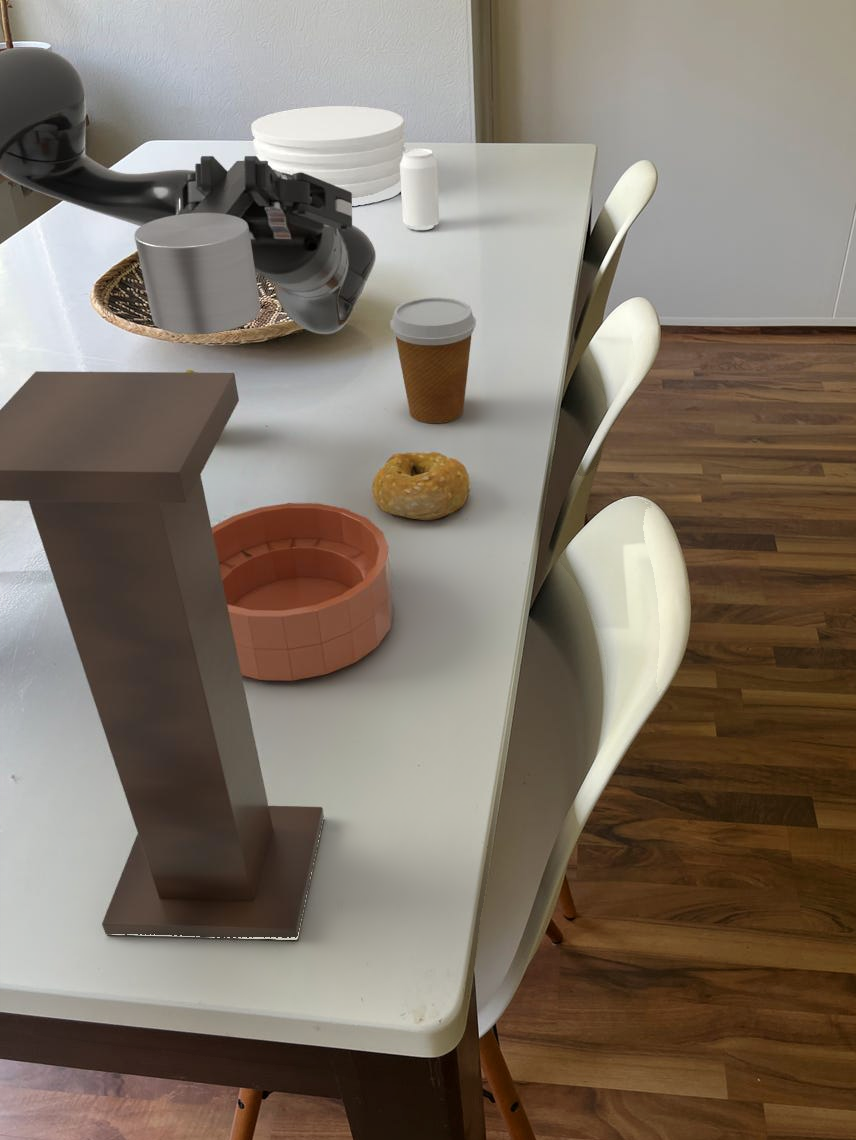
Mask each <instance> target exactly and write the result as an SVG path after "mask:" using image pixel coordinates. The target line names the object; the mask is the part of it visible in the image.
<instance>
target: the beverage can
mask: <svg viewBox="0 0 856 1140" xmlns="http://www.w3.org/2000/svg"><path fill="white" fill-rule="evenodd" d="M438 175H439V174H438V162H437V160H436V158H435V156H434V151H433V150H432V149H428V148H410V149H405V151H404V152H403V157H402V160H401V162H400V178H401V194H400V195H401V211H402V223H403V222H404V224H406V225H410V226H416V227H417V226H419V227H421V226H429V225H433V224H436V223H437V222H438V221H439V222H440V212H439V211H440V205H439V202H440V201H439V176H438ZM404 224H403V225H404Z"/></svg>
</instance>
